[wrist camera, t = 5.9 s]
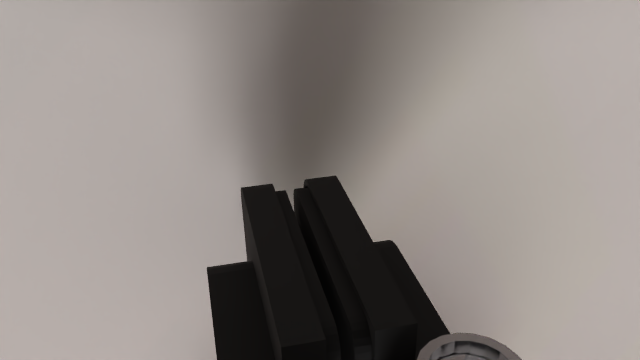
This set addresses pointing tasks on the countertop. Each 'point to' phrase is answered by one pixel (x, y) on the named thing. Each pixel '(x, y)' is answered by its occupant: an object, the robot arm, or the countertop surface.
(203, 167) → the countertop surface
